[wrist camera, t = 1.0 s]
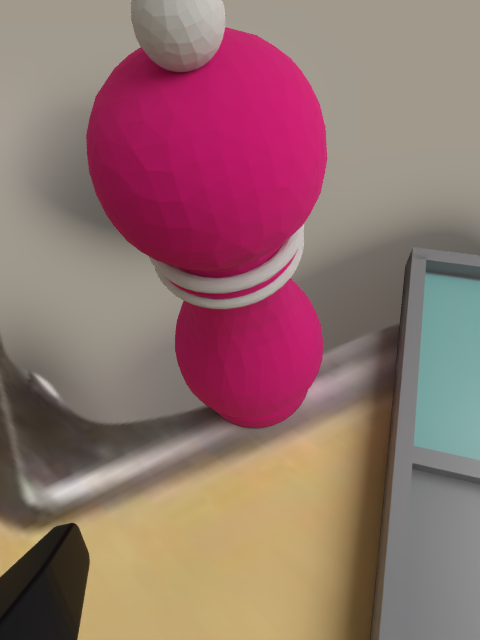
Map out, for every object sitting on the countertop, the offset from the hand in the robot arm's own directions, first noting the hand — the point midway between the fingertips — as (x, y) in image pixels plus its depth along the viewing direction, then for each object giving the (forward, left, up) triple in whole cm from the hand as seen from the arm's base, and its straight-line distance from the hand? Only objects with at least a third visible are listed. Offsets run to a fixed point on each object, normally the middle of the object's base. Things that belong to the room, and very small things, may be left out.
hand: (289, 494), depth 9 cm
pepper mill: (+7, +4, -14) cm, 16 cm away
